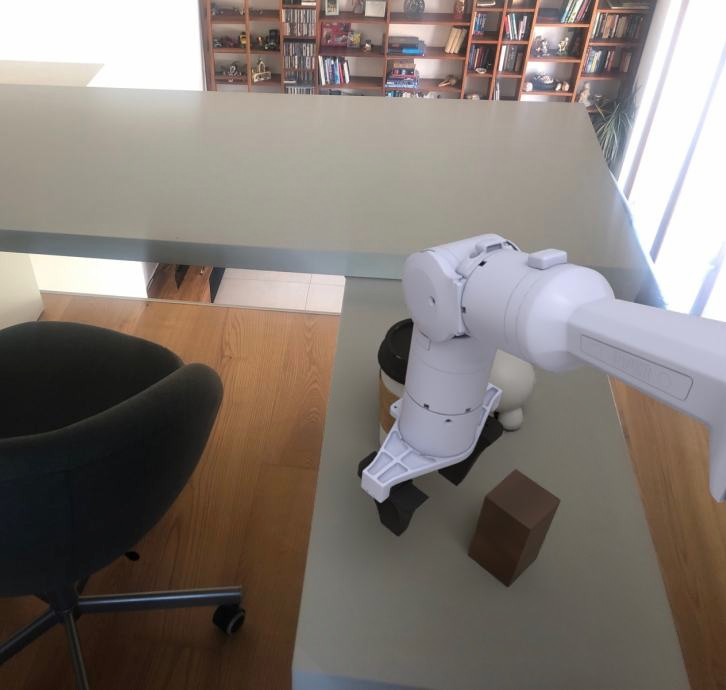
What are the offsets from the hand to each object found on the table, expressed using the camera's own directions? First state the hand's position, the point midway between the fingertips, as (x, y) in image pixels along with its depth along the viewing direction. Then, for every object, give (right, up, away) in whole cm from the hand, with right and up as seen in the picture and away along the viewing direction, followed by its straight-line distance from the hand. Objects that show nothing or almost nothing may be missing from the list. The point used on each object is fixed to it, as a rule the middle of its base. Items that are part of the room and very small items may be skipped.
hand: (421, 501), depth 59 cm
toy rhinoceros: (+10, +6, +21) cm, 24 cm away
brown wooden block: (+9, -6, +6) cm, 12 cm away
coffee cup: (+2, +2, +16) cm, 17 cm away
